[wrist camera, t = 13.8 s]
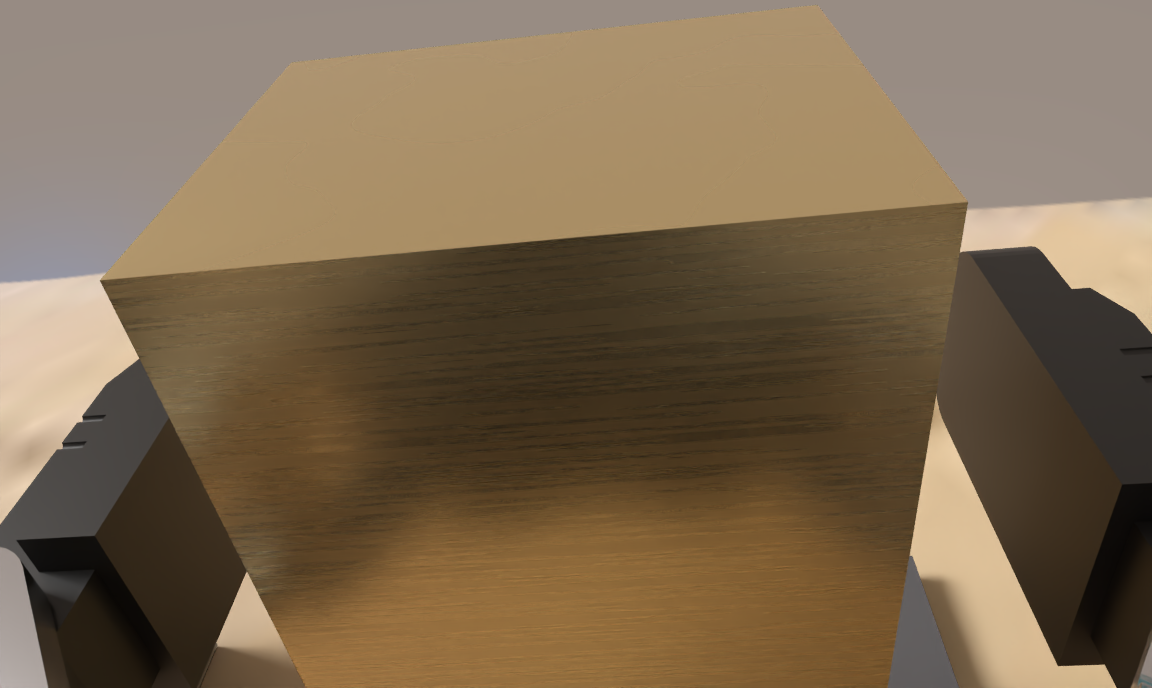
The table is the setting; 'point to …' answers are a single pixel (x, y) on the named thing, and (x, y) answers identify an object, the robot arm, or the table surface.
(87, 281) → the table surface
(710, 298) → the tall wooden pillar
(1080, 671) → the table surface
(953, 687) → the flat gray metal plate
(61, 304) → the table surface
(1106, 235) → the table surface
